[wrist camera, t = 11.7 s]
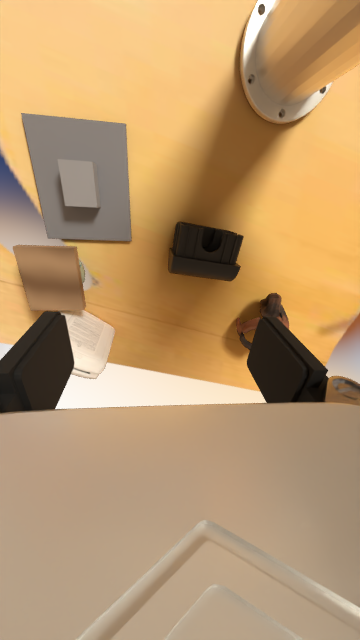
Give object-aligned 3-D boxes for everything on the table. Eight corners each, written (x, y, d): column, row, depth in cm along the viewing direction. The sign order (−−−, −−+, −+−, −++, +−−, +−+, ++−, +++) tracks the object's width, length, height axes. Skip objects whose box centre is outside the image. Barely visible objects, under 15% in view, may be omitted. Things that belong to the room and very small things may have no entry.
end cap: (166, 265, 38) (169, 277, 32) (173, 220, 34) (178, 224, 29) (222, 273, 40) (235, 286, 34) (233, 231, 36) (250, 237, 30)
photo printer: (55, 316, 39) (19, 360, 28) (66, 298, 38) (33, 337, 27) (107, 343, 43) (93, 391, 32) (119, 327, 42) (109, 372, 31)
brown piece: (282, 329, 48) (282, 360, 42) (237, 322, 50) (231, 350, 45) (298, 282, 39) (300, 313, 34) (243, 277, 42) (236, 305, 37)
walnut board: (18, 244, 30) (12, 246, 28) (76, 246, 31) (73, 248, 29) (35, 306, 34) (30, 310, 33) (86, 306, 35) (83, 310, 34)
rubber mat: (23, 114, 27) (9, 104, 24) (125, 125, 28) (123, 116, 26) (49, 237, 33) (40, 241, 31) (131, 240, 35) (129, 244, 32)
